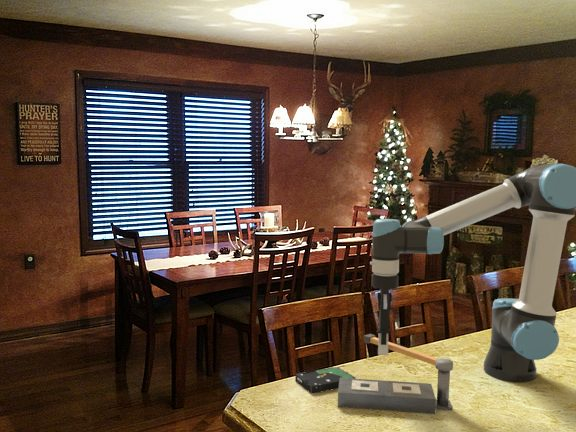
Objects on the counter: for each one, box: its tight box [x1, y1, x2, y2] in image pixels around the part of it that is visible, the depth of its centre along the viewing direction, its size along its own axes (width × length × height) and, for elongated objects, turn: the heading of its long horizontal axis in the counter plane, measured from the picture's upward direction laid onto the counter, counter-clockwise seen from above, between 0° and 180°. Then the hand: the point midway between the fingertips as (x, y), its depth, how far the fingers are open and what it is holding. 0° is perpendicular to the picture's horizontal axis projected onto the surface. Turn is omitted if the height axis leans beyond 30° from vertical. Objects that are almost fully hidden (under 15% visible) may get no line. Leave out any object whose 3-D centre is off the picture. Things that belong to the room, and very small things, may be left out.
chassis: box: [337, 378, 437, 415], centre depth 147 cm, size 25×10×4 cm, turn 82°
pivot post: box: [435, 369, 453, 411], centre depth 145 cm, size 4×4×10 cm
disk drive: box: [294, 366, 357, 395], centre depth 160 cm, size 10×3×15 cm
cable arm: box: [363, 333, 454, 372], centre depth 154 cm, size 30×4×2 cm, turn 39°
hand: (382, 354), depth 157 cm, fingers closed
